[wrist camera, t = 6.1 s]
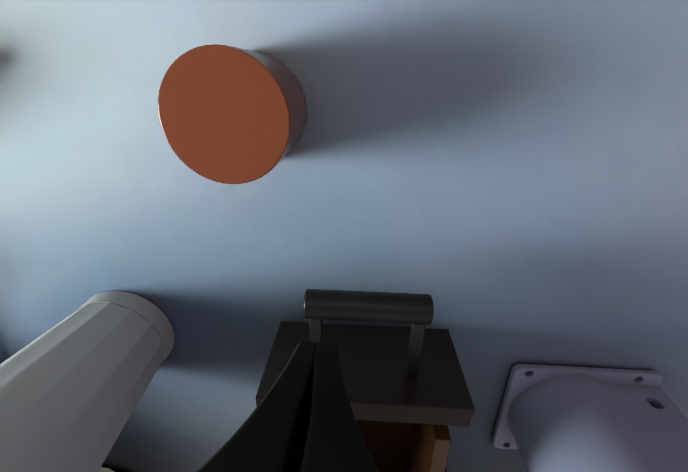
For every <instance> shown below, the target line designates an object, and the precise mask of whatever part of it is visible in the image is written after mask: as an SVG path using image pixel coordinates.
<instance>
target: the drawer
mask: <svg viewBox="0 0 688 472" xmlns="http://www.w3.org/2000/svg"><path fill="white" fill-rule="evenodd" d="M303 311H304V317H305V318H307V319H309V323H304V322H284V321H282V322H281V323H280V326H279V329H278V332H277V335H276V338H275V341H274V344H273V347H272V350H271V353H270V356H269V359H268V362H267V365H266V368H265V371H264V374H263V377H262V380H261V383H260V386H259V389H258V392H257V395H256V404H257V406H258V405H259V403H260V402H261V401H262V399H263V398H264V397H265V396H266V394H267V393H268V391H269V390H270V389H271V387H272V386H273V384H274V383H275V381H276V380H277V378H278V377H279V375H280V374H281V372H282V371H283V369H284V368H285V366H286V364H287V363H288V361H289V359H290V358H291V356H292V354H293V352H294V350H295V348H296V346H297V344H298V343H300V342H316V343H336V344H337V345H338V346H339V360H340V367H341V372H342V377H343V381H344V385H345V389H346V392H347V396H348V399H349V402H350V405H351V408H352V411H353V414H354V417H355V420H356V422H357V425H358V428H359V430H360V433H361V435H362V437H363V440H364V442H365V444H366V447H367V449H368V451H369V453H370V455H371V457H372V460H373V462H374V464H375V466H376V468H377V469H378V471H379V472H445V467H446V463H447V458H448V453H449V449H450V444H451V437H450V433H449V429H448V425H452V426H469V427H470V426H471V423H472V419H473V415H474V411H475V409H474V406H473V403H472V400H471V397H470V394H469V391H468V388H467V385H466V382H465V378H464V375H463V372H462V369H461V366H460V363H459V360H458V357H457V354H456V351H455V348H454V345H453V342H452V339H451V336H450V333H449V330H448V329H428V328H425V324H431V322H432V319H433V300H432V297H431V295H429V294H408V293H386V292H364V291H341V290H319V289H307V290H306V292H305V296H304V308H303ZM323 319H328V320H349V321H369V322H390V323H411V327H410V328H408V327H387V326H366V325H346V324H325V323H323Z"/></svg>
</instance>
